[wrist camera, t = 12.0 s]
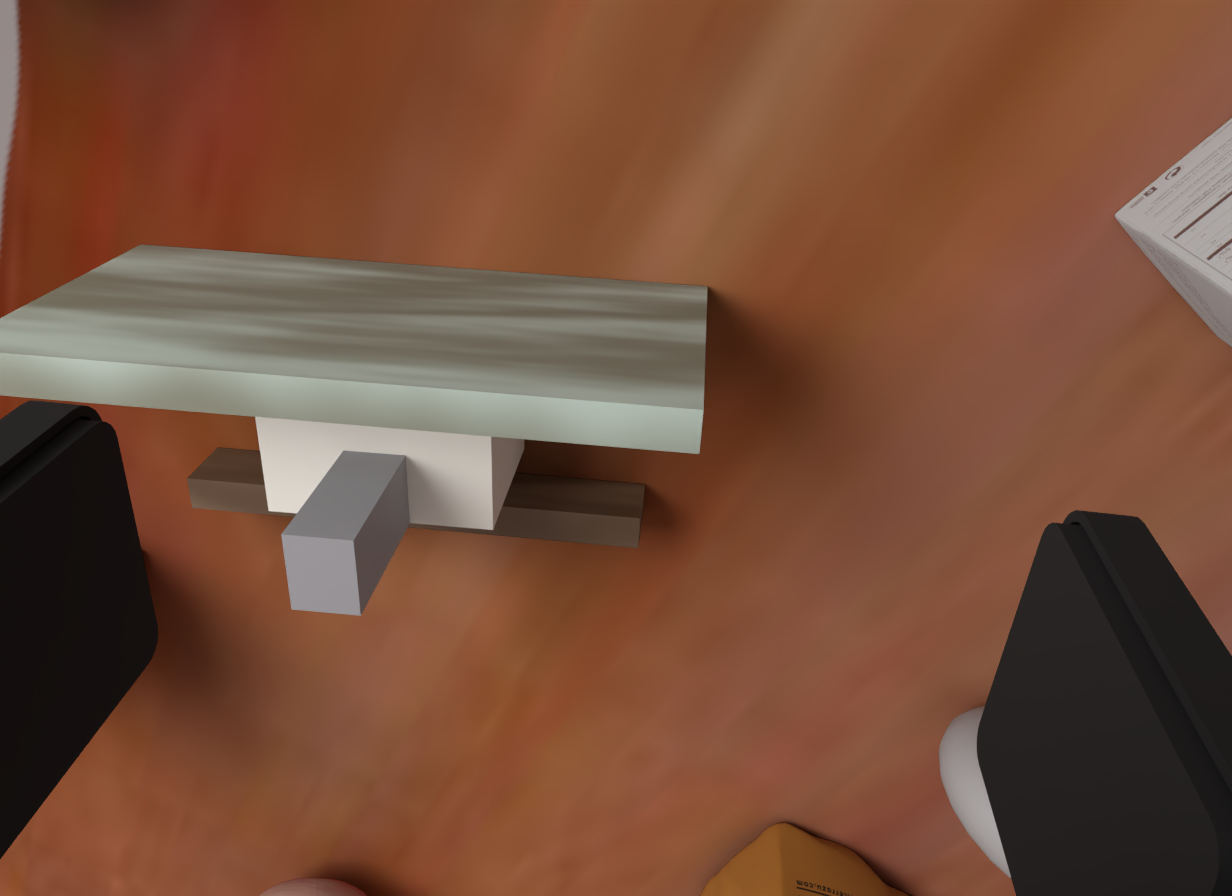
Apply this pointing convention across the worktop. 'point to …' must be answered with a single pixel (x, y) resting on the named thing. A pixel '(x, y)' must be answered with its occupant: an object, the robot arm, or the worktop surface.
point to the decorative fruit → (313, 888)
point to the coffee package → (796, 869)
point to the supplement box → (1191, 228)
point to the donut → (969, 784)
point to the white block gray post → (372, 498)
